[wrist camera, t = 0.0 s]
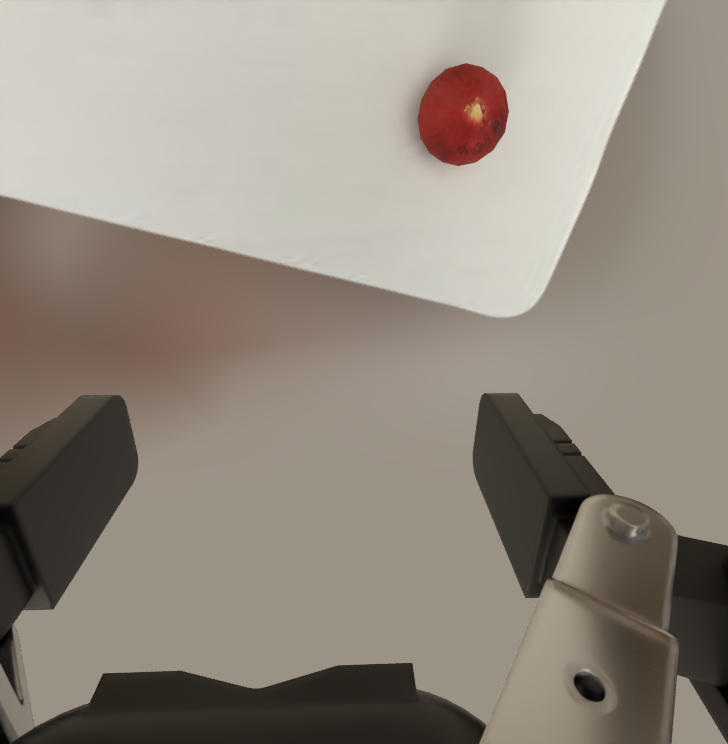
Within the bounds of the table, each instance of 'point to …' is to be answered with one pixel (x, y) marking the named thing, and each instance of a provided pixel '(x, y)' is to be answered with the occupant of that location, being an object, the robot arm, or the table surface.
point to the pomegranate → (463, 114)
